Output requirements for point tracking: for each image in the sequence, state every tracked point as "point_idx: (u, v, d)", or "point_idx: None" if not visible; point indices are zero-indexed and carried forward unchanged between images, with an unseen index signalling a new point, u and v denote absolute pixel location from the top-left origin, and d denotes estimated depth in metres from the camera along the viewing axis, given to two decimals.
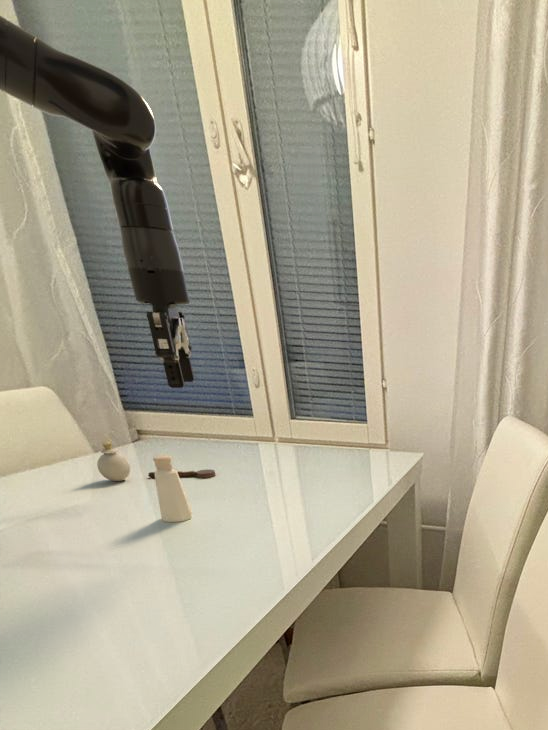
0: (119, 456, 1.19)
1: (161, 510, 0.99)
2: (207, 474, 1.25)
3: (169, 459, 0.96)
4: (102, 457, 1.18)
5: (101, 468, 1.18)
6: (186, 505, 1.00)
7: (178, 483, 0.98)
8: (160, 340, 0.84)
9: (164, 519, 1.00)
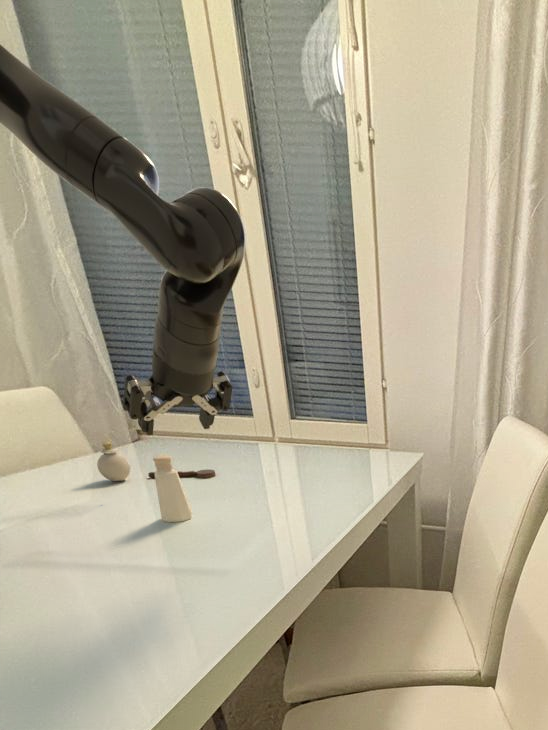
0: (119, 456, 1.19)
1: (161, 510, 0.99)
2: (207, 474, 1.25)
3: (169, 459, 0.96)
4: (102, 457, 1.18)
5: (101, 468, 1.18)
6: (186, 505, 1.00)
7: (178, 483, 0.98)
8: (149, 395, 0.78)
9: (164, 519, 1.00)
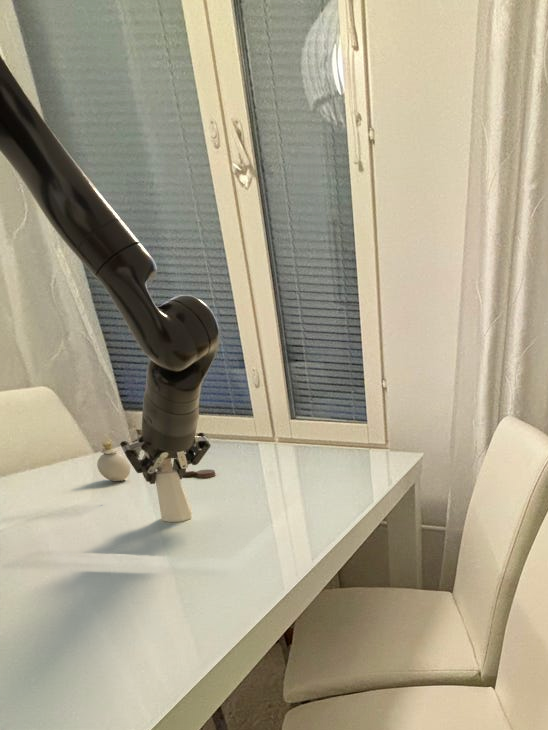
0: (119, 456, 1.19)
1: (161, 510, 0.99)
2: (207, 474, 1.25)
3: (169, 459, 0.96)
4: (102, 457, 1.18)
5: (101, 468, 1.18)
6: (186, 505, 1.00)
7: (178, 483, 0.98)
8: (146, 452, 0.92)
9: (164, 519, 0.99)
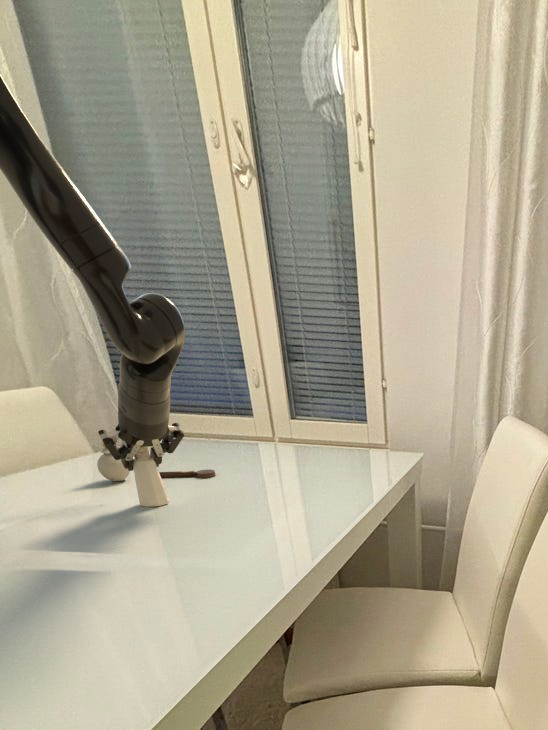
0: None
1: (139, 495, 1.06)
2: (207, 474, 1.25)
3: (146, 447, 1.03)
4: (102, 457, 1.18)
5: (101, 468, 1.18)
6: (163, 491, 1.07)
7: (155, 470, 1.05)
8: (123, 441, 0.99)
9: (142, 504, 1.06)
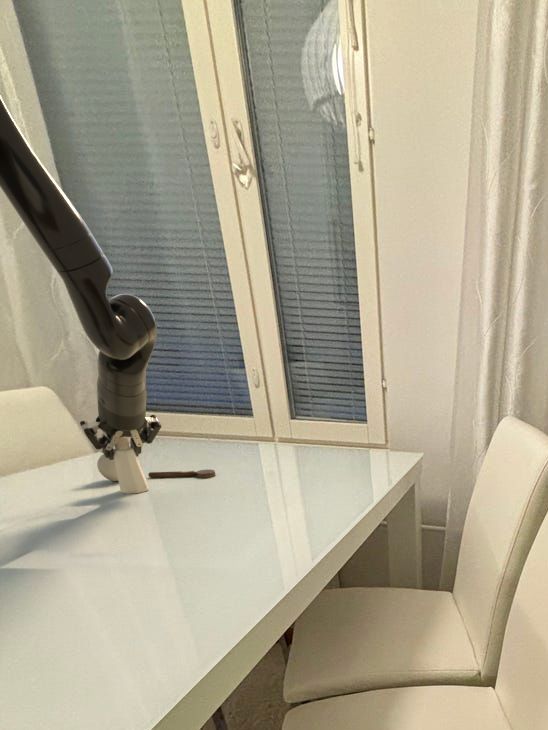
0: None
1: (120, 483, 1.13)
2: (207, 474, 1.25)
3: (126, 438, 1.10)
4: (102, 457, 1.18)
5: (101, 468, 1.18)
6: (142, 479, 1.14)
7: (134, 459, 1.12)
8: (104, 431, 1.06)
9: (122, 491, 1.14)
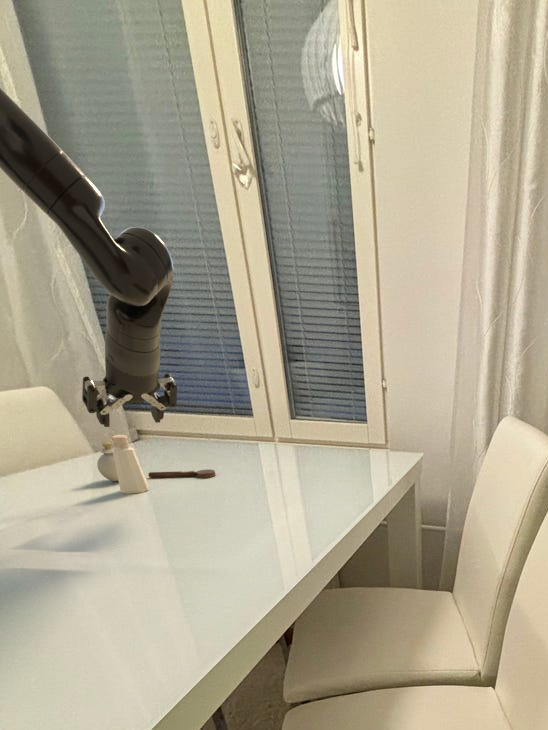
0: None
1: (120, 483, 1.13)
2: (207, 474, 1.25)
3: (125, 438, 1.10)
4: (102, 457, 1.18)
5: (101, 468, 1.18)
6: (142, 479, 1.14)
7: (134, 459, 1.12)
8: (104, 393, 0.94)
9: (122, 491, 1.14)
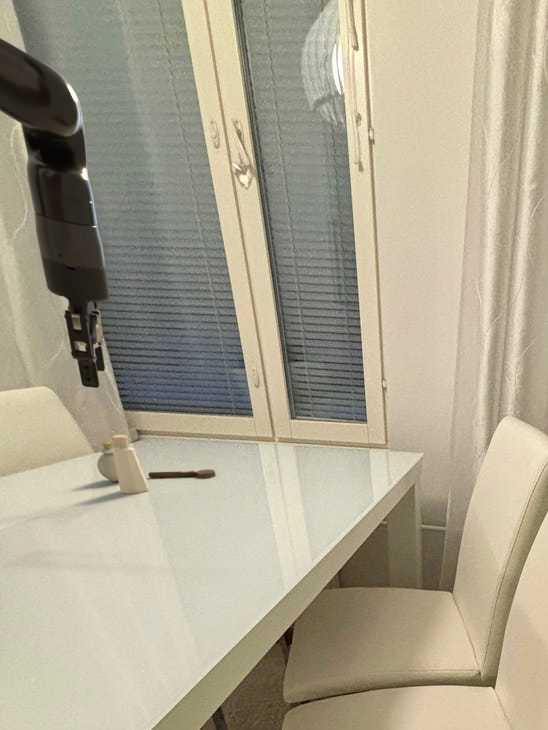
0: None
1: (120, 483, 1.13)
2: (207, 474, 1.25)
3: (125, 438, 1.10)
4: (102, 457, 1.18)
5: (101, 468, 1.18)
6: (142, 479, 1.14)
7: (134, 459, 1.12)
8: None
9: (122, 491, 1.14)
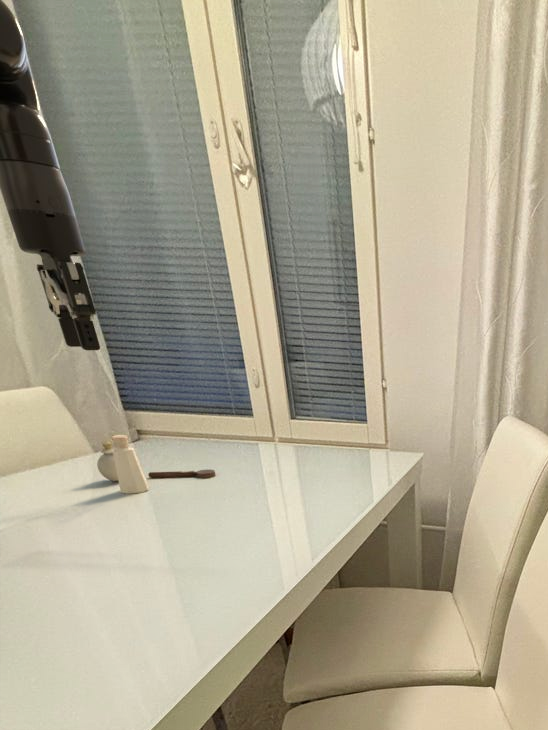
0: None
1: (120, 483, 1.13)
2: (207, 474, 1.25)
3: (125, 438, 1.10)
4: (102, 457, 1.18)
5: (101, 468, 1.18)
6: (142, 479, 1.14)
7: (134, 459, 1.12)
8: (67, 295, 0.75)
9: (122, 491, 1.14)
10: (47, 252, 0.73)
